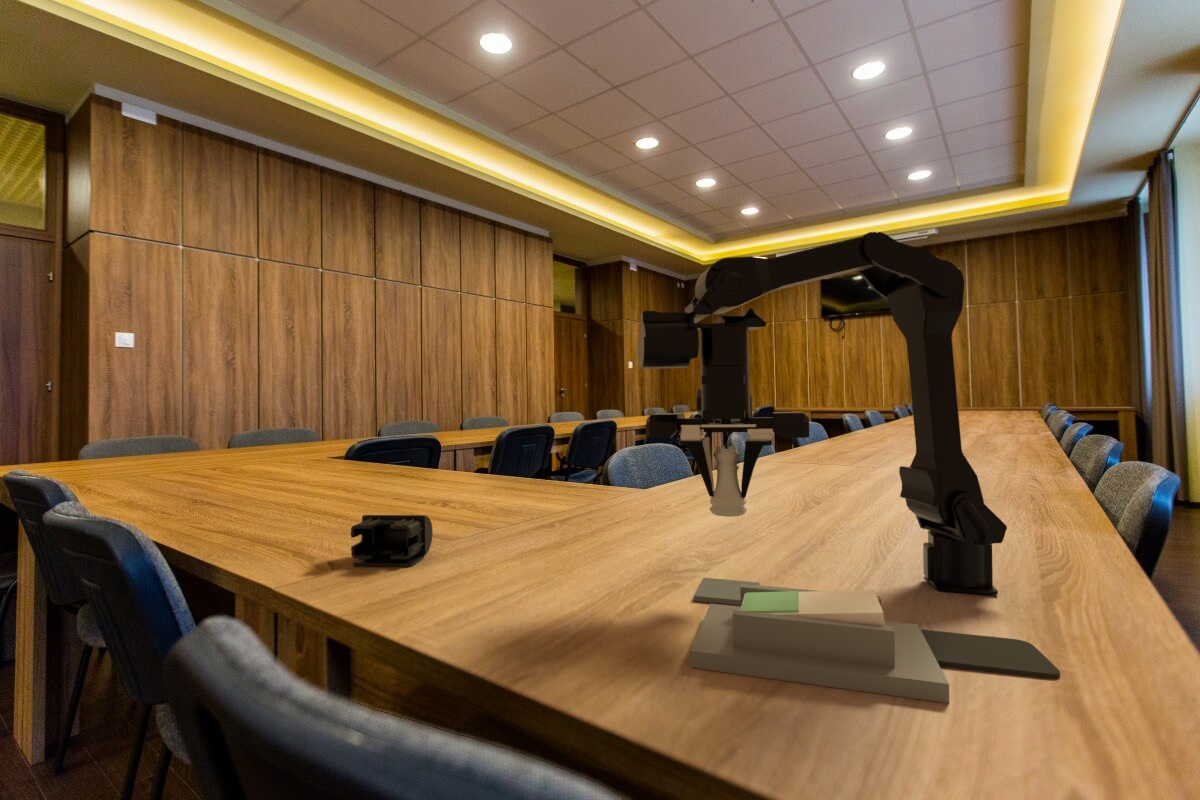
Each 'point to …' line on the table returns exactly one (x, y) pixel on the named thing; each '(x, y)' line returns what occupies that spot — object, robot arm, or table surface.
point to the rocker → (819, 605)
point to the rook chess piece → (727, 484)
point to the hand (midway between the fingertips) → (727, 496)
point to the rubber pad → (720, 591)
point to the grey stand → (819, 651)
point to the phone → (989, 654)
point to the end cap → (391, 540)
